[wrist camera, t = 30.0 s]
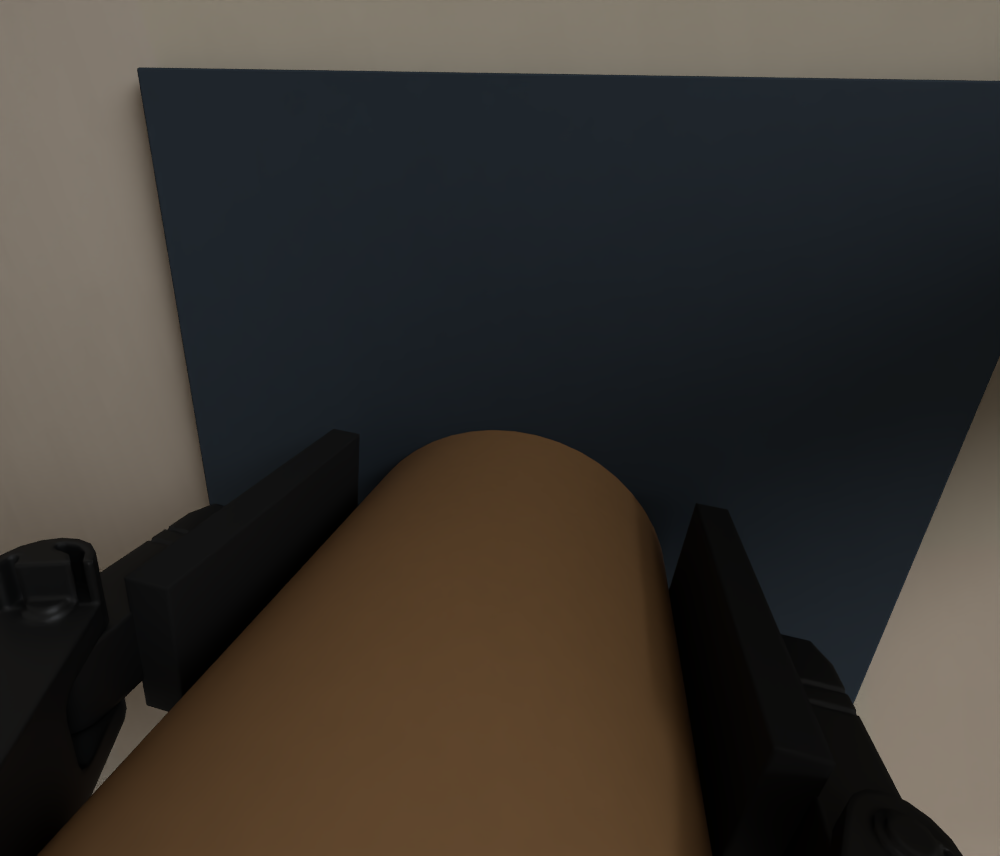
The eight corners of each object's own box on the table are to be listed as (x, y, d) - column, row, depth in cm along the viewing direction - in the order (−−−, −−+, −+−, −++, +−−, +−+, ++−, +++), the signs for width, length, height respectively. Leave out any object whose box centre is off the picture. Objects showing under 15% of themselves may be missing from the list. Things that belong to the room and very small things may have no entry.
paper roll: (699, 1753, 5) (1189, 1756, 2) (-37, 1375, 7) (-489, 1004, 3) (638, 713, 16) (692, 451, 13) (369, 658, 18) (357, 409, 14)
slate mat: (248, 679, 20) (240, 690, 20) (152, 72, 13) (135, 66, 12) (799, 804, 17) (805, 820, 16) (1092, 89, 10) (1116, 81, 9)
